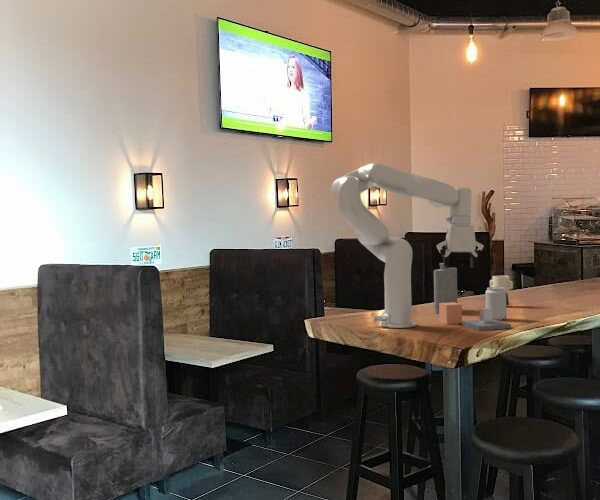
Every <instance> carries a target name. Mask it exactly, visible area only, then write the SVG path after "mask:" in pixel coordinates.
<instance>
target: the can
mask: <svg viewBox="0 0 600 500" xmlns="http://www.w3.org/2000/svg"><path fill="white" fill-rule="evenodd" d="M506 293H507V291H505V290H504V288H503V287H490V286H489V287H487V288H486V290H485V302H484V303H485V308H491V309H492V319H494V320H497V321H504V320H505V319H507V305H506ZM503 319H504V320H503Z"/></svg>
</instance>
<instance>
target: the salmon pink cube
mask: <svg viewBox="0 0 600 500" xmlns="http://www.w3.org/2000/svg"><path fill="white" fill-rule="evenodd" d="M462 305H463V304H462V303H458V302H457V303H455V302H451V303H439V314H438V315H439V323H442V324H444V325H455V324H456V325H457V324H459V323H461V324H462V321H463V306H462ZM459 325H460V324H459Z"/></svg>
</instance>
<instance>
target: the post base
mask: <svg viewBox="0 0 600 500" xmlns="http://www.w3.org/2000/svg"><path fill="white" fill-rule="evenodd" d="M478 310H479V313H478V314H479V317H478V319H474V320H462V323H461V325H462V326H463V327H466V328H469V329H472V330H475V331H479V332H480V331H481V332H482V331H495V330H494V329H497V330H506V328H511V329H512V324H511V323H508V322H504V321H502V320H494V319H492V309H491V308H486V307H479V309H478Z"/></svg>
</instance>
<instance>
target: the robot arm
mask: <svg viewBox="0 0 600 500" xmlns="http://www.w3.org/2000/svg"><path fill="white" fill-rule="evenodd" d="M373 187H375V188H379V189H381V190H384V191H387V192H390V193H393V194H395V195H396V194H397V196H398V195H399V196H403V197H407V198H417V199H423V200H427V202H428V203H429V205H430V206H432V207H435V208H447V207H449V217H446V219H445V220H446V221H445V222H448V223H449V224H447V230H446V235H445V240H444V241H442V242H440V243H438V244H436V248H437V250H438V252H439V253H440V254H441V255H442V257H443V263H444V266H445V268H450V257H449V255H450V254H451V253H469V254H470V255H471V256H470V261H469V262H470V265H469V267H470V269H475V268H476V266H477V257H479V255H480V254H481V253H482V251H483V249H484V246H485V245H484V244H482V243H481V242H478V241H477V240H476V233H475V226H474V224H472V189H471V188H470V187H466V186H456V187H454V186H453V185H451V184H448V183H445V182H442V181H440V180H437V179H433V178H429V177H425V176H422V175H418V174H415V173H411V172H408V171H405V170H401V169H399V168H396V167H393V166H392V165H391V166H390V165H387V164H385V163H381V162H377V161H376V162H375V161H374V162H370V163H368V164H365V165H363V166H361V167H359V168H357V169H355V170H353V171H351V172H349V173H346V174H345V175H342V176H340V177H338V178H336V179H335V180H334V181H333V182H332V184H331V188H330V190H331V191H330V193H331V194H332V196H333V197H334V198H335V199H337V205H338V210H339V213H340V214H341V215H340V216H342V219H343V220H344V221H345V222H346V223H347V224H348V225H349V226H350V227H351V228H352V229H354V231H355V236H356V239H357V241H358V242H359V243H360V244H361V245H363V246H364V247H365V248H366V249H367V250H368V251H369V252H370V253H372V254H373V255H374V256H375V257H376V258H377V259H379V260H380V261H382V262H383V263H385V264H384V271H383V279H384V280H383V283H384V286H383V287H384V312H381V313H382V314H380V315H373V316H372V317H371V319H372V320H371V321H372V322H380V326H382V327H384V328H389V329H407V328H413V327H416V326H417V321H415V320H412V318H413V315H412V263H413V247H412V245H411V244H410V243H409V242H408V240H406V239H404V238H400V237H393V236H391V234H389V228H388V226H387V225H386V223H384V221H382V220H380V218H379V217H378V216H376V215H375V214H374V213H373V212H372V211H370V210H369V208H368V207H367V206H365V205H364V203H363V201H362V196H361V193H364V192H365V191H367V190H369V189H371V188H373ZM444 246H445V250H443V247H444ZM476 247H478V248H477V249H476Z"/></svg>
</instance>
